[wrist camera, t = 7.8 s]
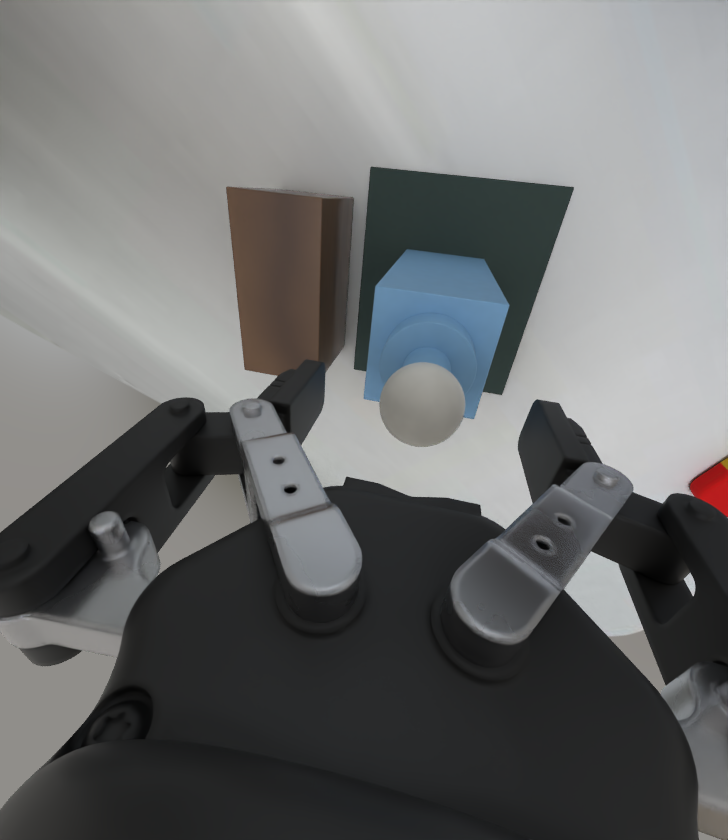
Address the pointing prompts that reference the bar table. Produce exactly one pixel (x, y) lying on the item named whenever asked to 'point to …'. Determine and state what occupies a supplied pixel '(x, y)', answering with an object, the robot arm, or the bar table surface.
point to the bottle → (432, 343)
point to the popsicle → (713, 487)
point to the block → (290, 275)
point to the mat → (463, 241)
